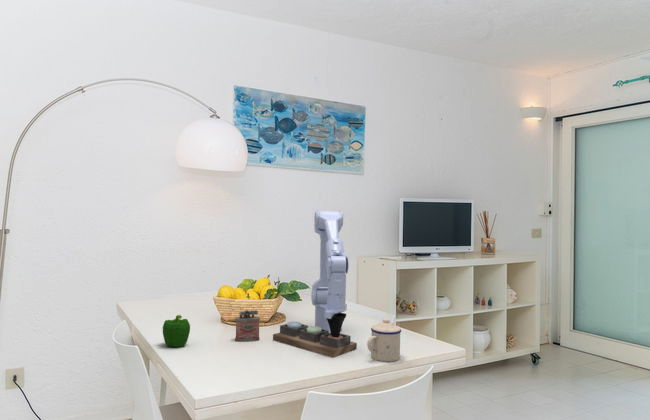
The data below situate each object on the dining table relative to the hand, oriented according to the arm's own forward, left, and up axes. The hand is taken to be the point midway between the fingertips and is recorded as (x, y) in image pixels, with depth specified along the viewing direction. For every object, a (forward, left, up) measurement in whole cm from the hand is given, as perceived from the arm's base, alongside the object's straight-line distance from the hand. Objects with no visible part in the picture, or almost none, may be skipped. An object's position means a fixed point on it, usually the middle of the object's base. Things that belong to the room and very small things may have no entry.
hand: (335, 336), depth 150 cm
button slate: (0, -18, -1) cm, 18 cm away
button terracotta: (0, 0, -2) cm, 2 cm away
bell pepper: (+32, -39, -5) cm, 51 cm away
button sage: (0, -9, -1) cm, 9 cm away
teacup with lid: (-4, +15, -4) cm, 16 cm away
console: (0, -9, -4) cm, 10 cm away
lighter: (+12, -28, -4) cm, 31 cm away
